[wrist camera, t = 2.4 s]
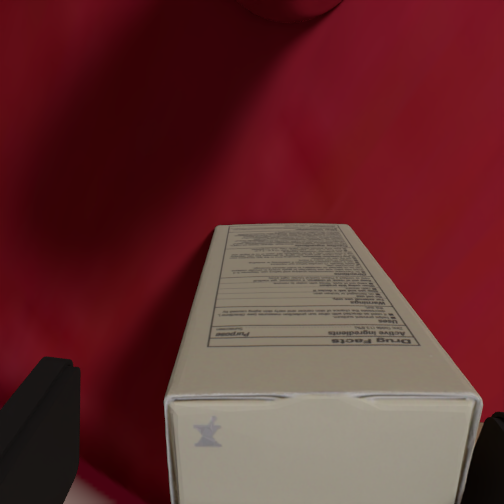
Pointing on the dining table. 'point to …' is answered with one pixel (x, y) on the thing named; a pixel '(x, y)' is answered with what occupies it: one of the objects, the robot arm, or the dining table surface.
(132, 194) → the dining table surface
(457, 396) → the skincare box
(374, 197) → the dining table surface
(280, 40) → the dining table surface
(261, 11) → the beer glass
